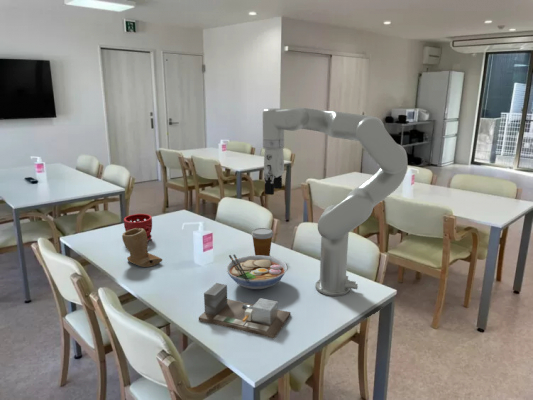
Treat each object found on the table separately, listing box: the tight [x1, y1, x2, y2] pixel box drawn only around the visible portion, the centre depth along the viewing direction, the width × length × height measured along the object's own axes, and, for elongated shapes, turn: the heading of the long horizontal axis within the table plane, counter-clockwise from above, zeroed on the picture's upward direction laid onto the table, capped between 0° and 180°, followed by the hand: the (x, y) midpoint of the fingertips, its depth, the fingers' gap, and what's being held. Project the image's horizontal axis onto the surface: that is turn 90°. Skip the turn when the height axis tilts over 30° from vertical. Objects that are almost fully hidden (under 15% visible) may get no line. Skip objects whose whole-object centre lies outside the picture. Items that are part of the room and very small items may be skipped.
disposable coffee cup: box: [251, 227, 274, 256], centre depth 180 cm, size 10×10×12 cm
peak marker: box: [242, 308, 252, 322], centre depth 127 cm, size 2×5×3 cm, turn 157°
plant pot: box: [123, 213, 153, 242], centre depth 200 cm, size 13×13×12 cm
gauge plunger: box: [242, 297, 278, 325], centre depth 129 cm, size 10×6×5 cm, turn 67°
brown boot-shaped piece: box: [121, 228, 163, 268], centre depth 173 cm, size 15×12×15 cm
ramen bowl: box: [226, 254, 288, 290], centre depth 154 cm, size 25×23×8 cm
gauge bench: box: [198, 282, 291, 339], centre depth 131 cm, size 26×14×8 cm, turn 67°
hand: (273, 191), depth 149 cm, fingers open, 9 cm apart
